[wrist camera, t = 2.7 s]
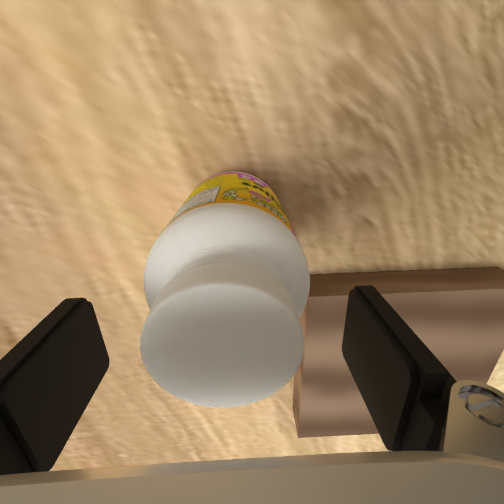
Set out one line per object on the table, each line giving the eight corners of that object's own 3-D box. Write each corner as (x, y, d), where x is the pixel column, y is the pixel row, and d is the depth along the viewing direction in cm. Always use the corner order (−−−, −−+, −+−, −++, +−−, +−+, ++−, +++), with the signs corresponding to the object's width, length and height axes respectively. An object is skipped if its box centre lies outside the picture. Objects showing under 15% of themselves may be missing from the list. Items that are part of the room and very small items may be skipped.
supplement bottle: (296, 230, 20) (375, 379, 8) (222, 273, 21) (199, 453, 10) (248, 147, 17) (264, 195, 6) (167, 202, 19) (45, 330, 7)
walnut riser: (300, 275, 22) (309, 296, 19) (497, 267, 22) (534, 287, 19) (292, 407, 28) (298, 437, 26) (443, 400, 29) (464, 428, 26)
